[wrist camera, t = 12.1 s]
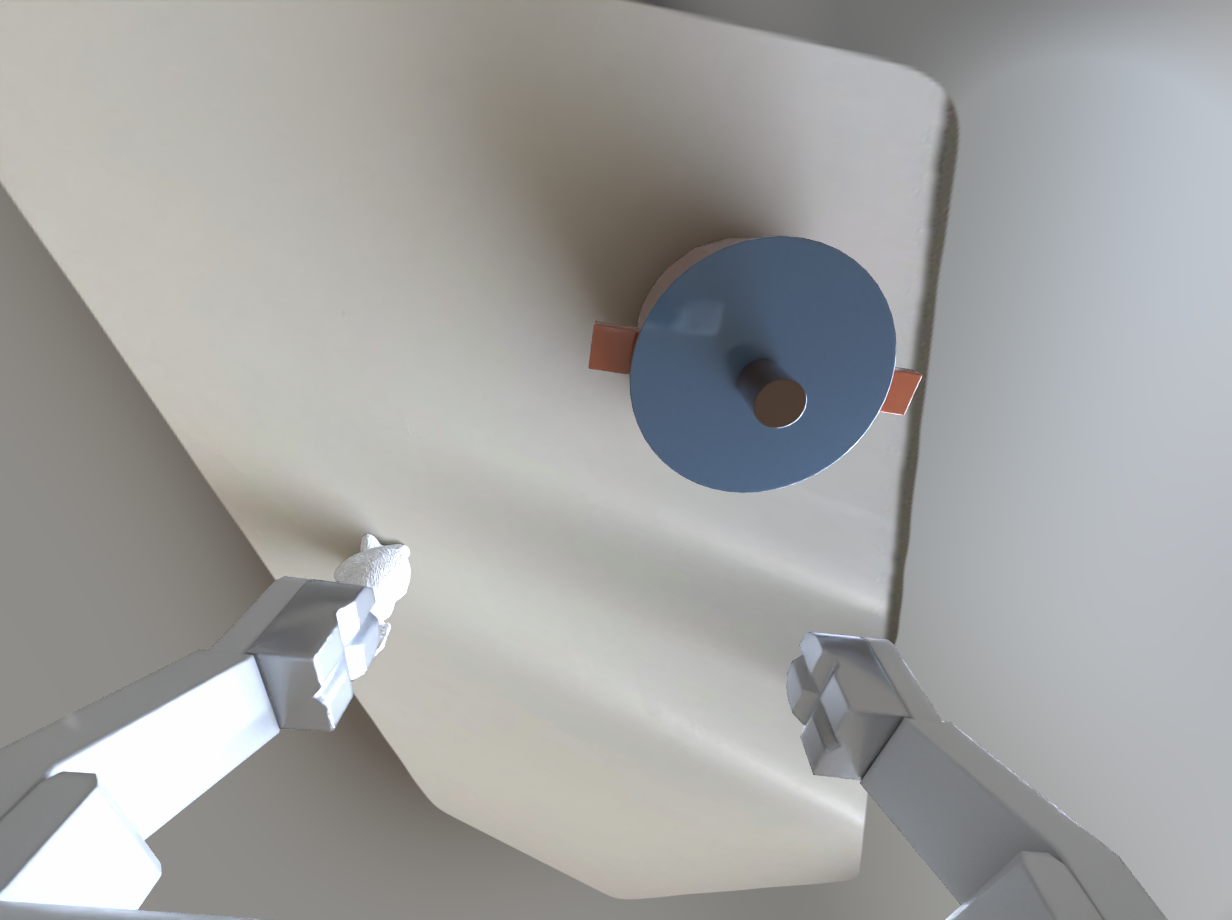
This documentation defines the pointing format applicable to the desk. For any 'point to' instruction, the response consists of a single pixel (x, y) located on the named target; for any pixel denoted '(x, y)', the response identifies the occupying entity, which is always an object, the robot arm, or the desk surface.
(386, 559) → the koala figurine
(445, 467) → the desk surface
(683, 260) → the pot
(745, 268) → the lid
